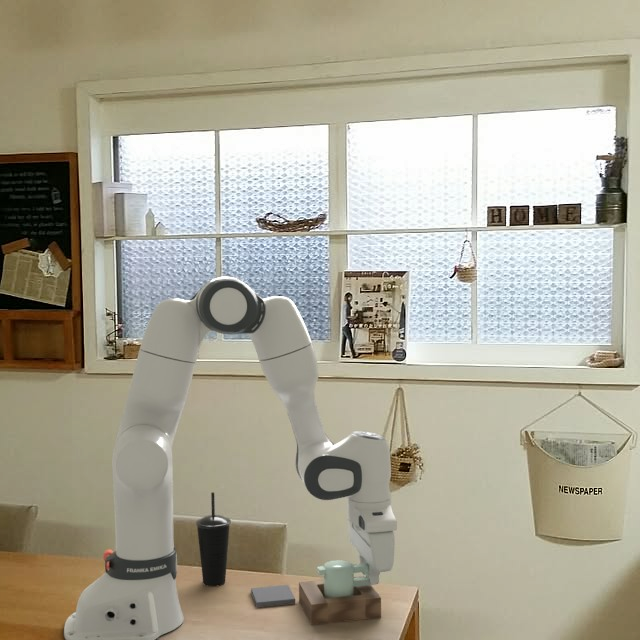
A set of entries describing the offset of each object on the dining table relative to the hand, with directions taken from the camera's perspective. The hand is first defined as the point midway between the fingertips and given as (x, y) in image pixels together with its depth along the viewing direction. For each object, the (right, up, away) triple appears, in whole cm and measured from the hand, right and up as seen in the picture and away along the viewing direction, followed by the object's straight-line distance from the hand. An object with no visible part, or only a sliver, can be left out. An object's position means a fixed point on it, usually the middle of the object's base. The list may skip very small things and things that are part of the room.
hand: (369, 578), depth 168 cm
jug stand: (-6, -6, -1) cm, 9 cm away
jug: (-5, -6, -1) cm, 8 cm away
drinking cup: (-33, -6, +14) cm, 37 cm away
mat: (-20, -6, +5) cm, 21 cm away
